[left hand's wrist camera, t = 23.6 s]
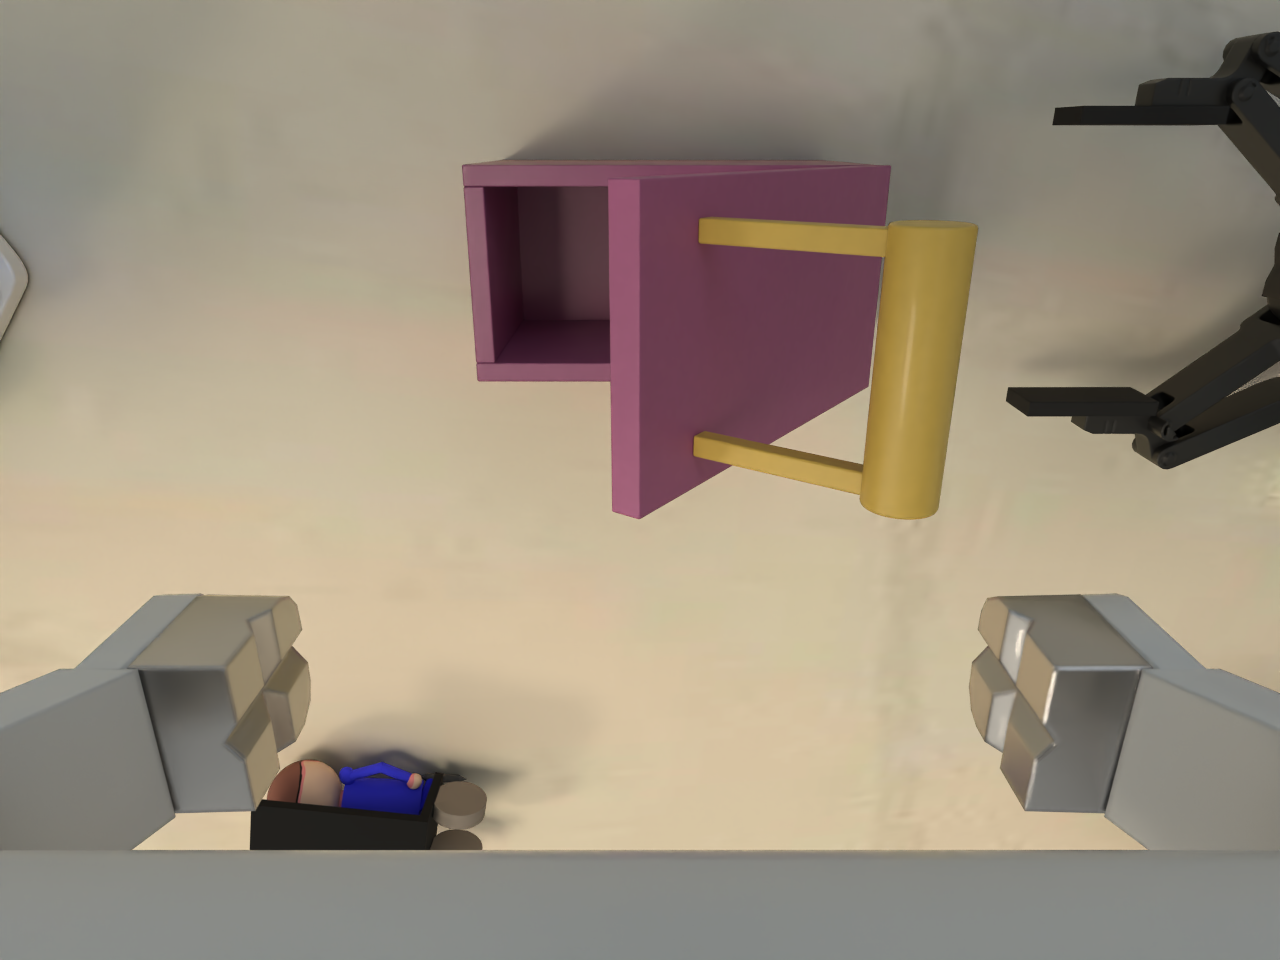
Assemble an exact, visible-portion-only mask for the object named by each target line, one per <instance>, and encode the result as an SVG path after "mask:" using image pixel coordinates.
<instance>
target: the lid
mask: <svg viewBox="0 0 1280 960" xmlns="http://www.w3.org/2000/svg"><path fill="white" fill-rule="evenodd" d="M890 172H891V166H890V165H860V166H840V167H820V168H800V169H780V170H760V171H741V172H721V173H701V174H681V175H661V176H641V177H621V178H609V179H608V213H609V292H610V370H611V449H612V511H613V512H616V513H620V514H623V515H626V516H630V517H633V518H637V519H641V518H643V517H644V516H646V515H648V514H649V513H651V512H653V511H655V510H656V509H658V508H660V507H661V506H663V505H665V504H667V503H668V502H670V501H672V500H674V499H675V498H677V497H679V496H680V495H682V494H684V493H686V492H687V491H689V490H691V489H693V488H694V487H696V486H698V485H699V484H701V483H703V482H705V481H706V480H708V479H710V478H712V477H713V476H715V475H717V474H718V473H720V472H722V471H724V470H725V469H727V468H729V467H730V466H732V465H734V466H738V467H742V468H747V469H751V470H755V471H760V472H764V473H768V474H772V475H777V476H781V477H785V478H789V479H794V480H798V481H802V482H807V483H811V484H815V485H819V486H824V487H828V488H832V489H837V490H841V491H845V492H849V493H854V494H858V495H860V502H861V504H862V506H863V507H864V508H866V509H867V510H869V511H871V512H873V513H875V514H878V515H881V516H885V517H889V518H895V519H910V520H911V519H922V518H927V517H930V516H932V515H934V514H935V513H936V512H937V510H938V508H939V501H940V494H941V487H942V480H943V473H944V466H945V459H946V452H947V445H948V437H949V430H950V423H951V416H952V409H953V402H954V395H955V388H956V381H957V374H958V367H959V360H960V353H961V346H962V339H963V332H964V325H965V318H966V311H967V304H968V297H969V290H970V283H971V275H972V268H973V261H974V254H975V247H976V240H977V233H978V226H977V225H975V224H972V223H967V222H957V221H939V220H904V221H894V222H891V223H889V225H888V226H885V220H886V211H887V201H888V191H889V181H890ZM882 257H885V261H884V270H883V280H882V289H881V299H880V309H879V318H878V328H877V337H876V347H875V357H874V366H873V376H872V385H871V395H870V405H869V414H868V424H867V433H866V443H865V453H864V462H863V465H862V464H858V463H853V462H848V461H843V460H839V459H834V458H829V457H825V456H820V455H815V454H811V453H806V452H801V451H797V450H792V449H787V448H782V447H778V446H773V445H768V444H770V443H772V442H774V441H775V440H777V439H779V438H781V437H782V436H784V435H786V434H787V433H789V432H791V431H793V430H794V429H796V428H798V427H800V426H801V425H803V424H805V423H806V422H808V421H810V420H812V419H813V418H815V417H817V416H818V415H820V414H822V413H824V412H825V411H827V410H829V409H831V408H832V407H834V406H836V405H837V404H839V403H841V402H843V401H844V400H846V399H848V398H850V397H851V396H853V395H855V394H856V393H858V392H860V391H862V390H863V389H865V388H867V387H868V386H869V376H870V366H871V356H872V347H873V337H874V327H875V318H876V308H877V298H878V288H879V279H880V269H881V259H882Z"/></svg>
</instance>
